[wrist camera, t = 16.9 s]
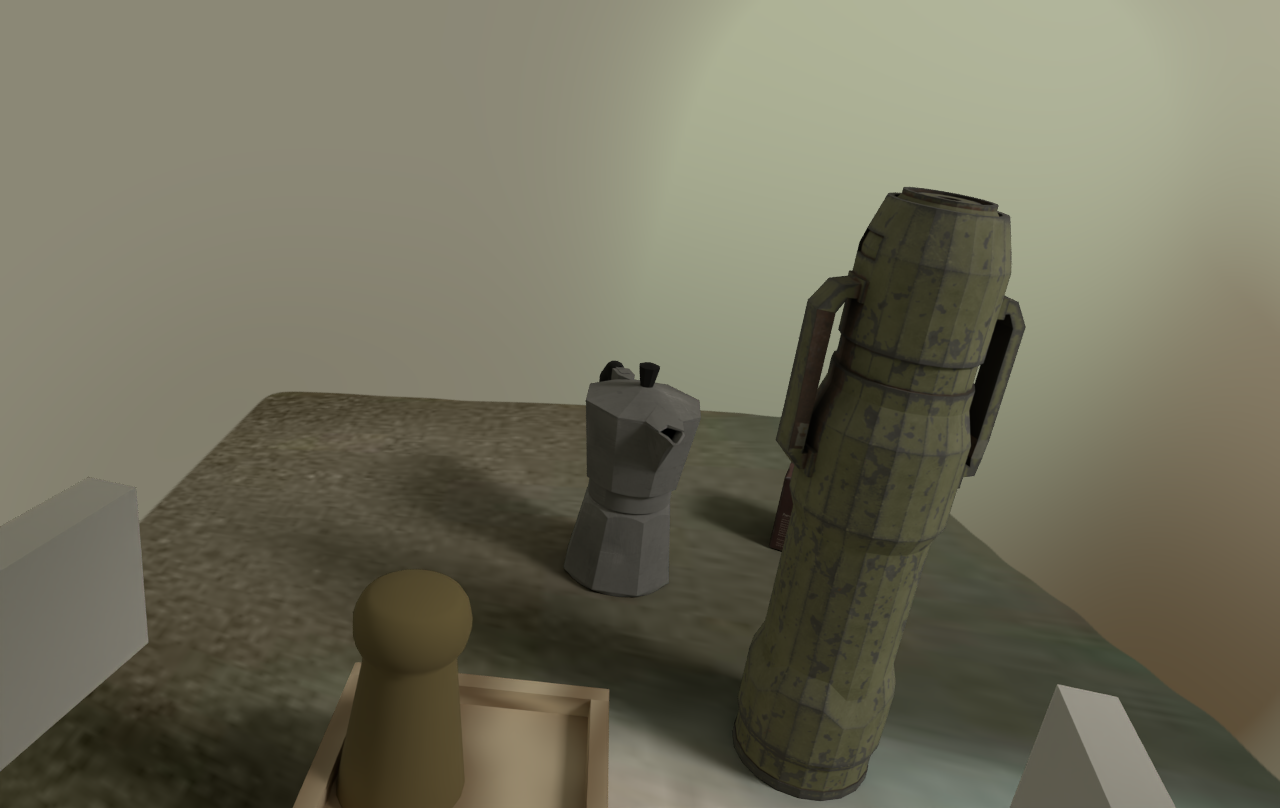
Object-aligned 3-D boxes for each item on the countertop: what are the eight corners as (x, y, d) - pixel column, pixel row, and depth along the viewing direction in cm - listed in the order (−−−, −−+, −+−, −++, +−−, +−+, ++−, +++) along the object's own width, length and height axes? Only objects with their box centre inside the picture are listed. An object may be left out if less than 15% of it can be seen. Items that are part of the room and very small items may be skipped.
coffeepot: (700, 608, 69) (744, 396, 63) (586, 619, 66) (620, 395, 59) (633, 512, 82) (664, 329, 76) (535, 517, 79) (559, 325, 72)
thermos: (688, 707, 58) (803, 168, 46) (844, 693, 62) (989, 193, 50) (740, 813, 50) (896, 199, 38) (914, 790, 54) (1108, 226, 42)
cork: (310, 812, 40) (316, 608, 36) (371, 724, 46) (381, 539, 42) (436, 846, 39) (455, 642, 36) (482, 753, 45) (503, 568, 41)
